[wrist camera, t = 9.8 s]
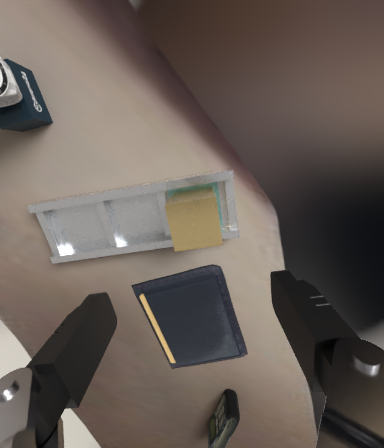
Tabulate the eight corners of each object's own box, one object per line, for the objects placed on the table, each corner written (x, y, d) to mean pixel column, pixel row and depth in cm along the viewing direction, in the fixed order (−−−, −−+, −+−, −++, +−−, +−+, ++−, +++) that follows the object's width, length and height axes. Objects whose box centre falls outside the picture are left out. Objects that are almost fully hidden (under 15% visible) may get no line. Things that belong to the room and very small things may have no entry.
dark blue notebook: (250, 363, 35) (167, 376, 37) (247, 352, 37) (169, 365, 39) (224, 266, 29) (127, 287, 31) (222, 259, 31) (131, 280, 33)
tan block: (173, 192, 26) (164, 205, 19) (212, 186, 25) (216, 197, 19) (181, 228, 27) (174, 251, 21) (217, 222, 27) (222, 244, 20)
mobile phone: (227, 415, 35) (204, 463, 39) (243, 419, 35) (219, 467, 39) (223, 385, 39) (203, 431, 44) (238, 388, 40) (217, 434, 44)
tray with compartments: (44, 200, 28) (26, 205, 25) (229, 168, 26) (232, 169, 23) (66, 253, 31) (52, 263, 28) (235, 228, 28) (239, 237, 25)
